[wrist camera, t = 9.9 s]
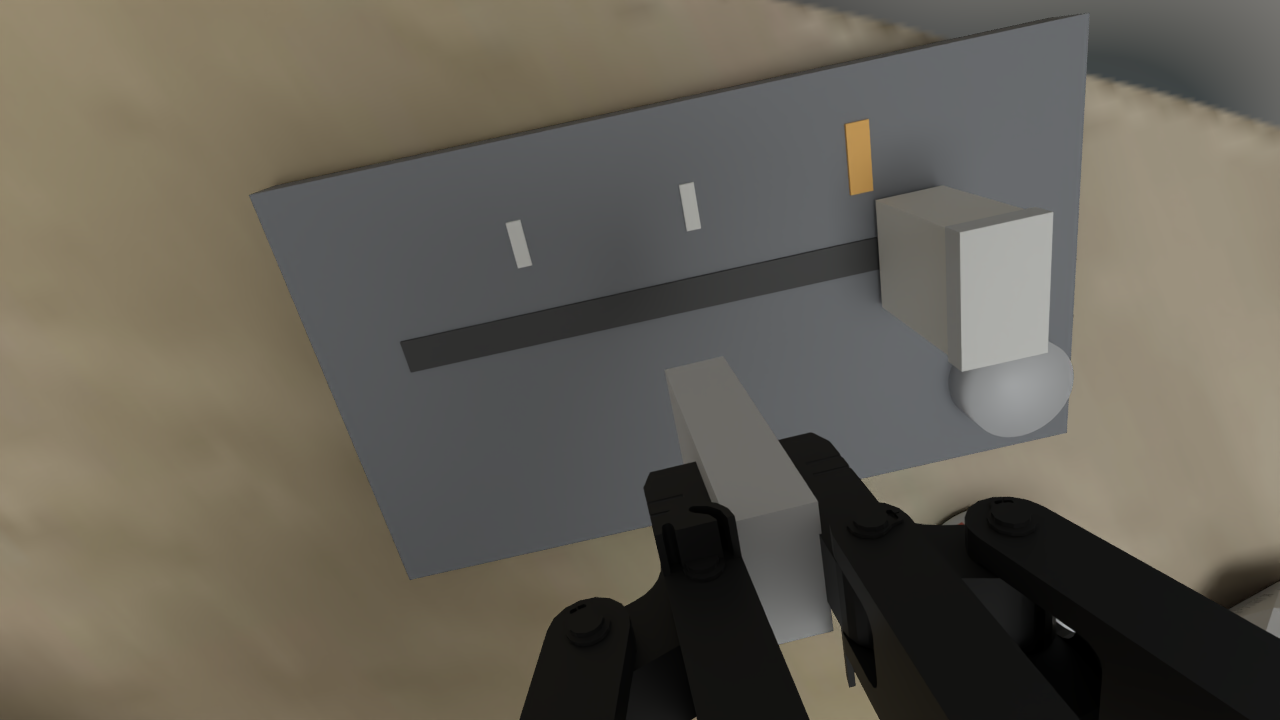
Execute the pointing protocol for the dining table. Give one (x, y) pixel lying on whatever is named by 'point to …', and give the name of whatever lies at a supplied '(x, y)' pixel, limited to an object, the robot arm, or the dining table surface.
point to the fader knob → (967, 273)
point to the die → (1262, 609)
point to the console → (673, 286)
